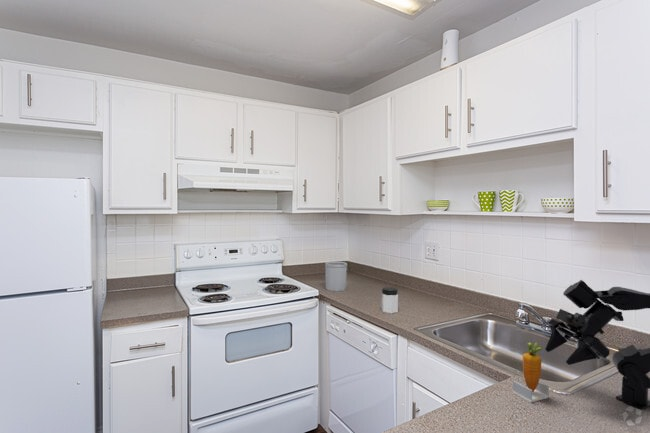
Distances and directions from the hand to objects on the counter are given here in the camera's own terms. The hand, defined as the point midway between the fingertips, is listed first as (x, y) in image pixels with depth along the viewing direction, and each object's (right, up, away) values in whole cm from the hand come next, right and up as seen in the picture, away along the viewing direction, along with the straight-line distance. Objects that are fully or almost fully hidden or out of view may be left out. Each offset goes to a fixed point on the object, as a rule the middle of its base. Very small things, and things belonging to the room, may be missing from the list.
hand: (556, 356), depth 108 cm
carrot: (-8, -11, 0) cm, 13 cm away
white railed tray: (-8, -11, 0) cm, 14 cm away
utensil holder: (-61, -8, +138) cm, 152 cm away
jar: (-34, -9, +87) cm, 94 cm away
